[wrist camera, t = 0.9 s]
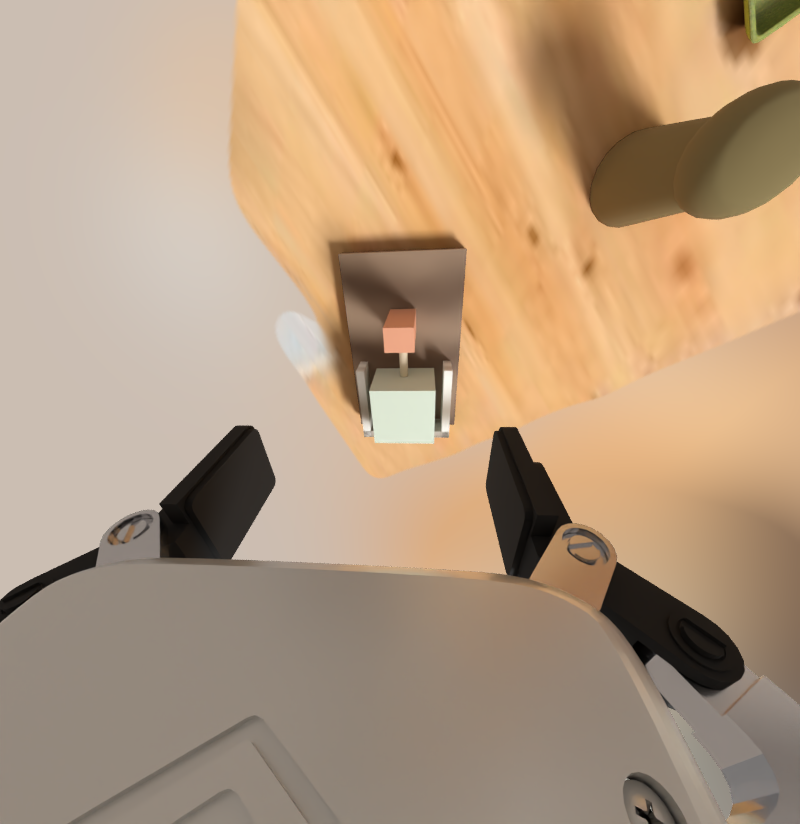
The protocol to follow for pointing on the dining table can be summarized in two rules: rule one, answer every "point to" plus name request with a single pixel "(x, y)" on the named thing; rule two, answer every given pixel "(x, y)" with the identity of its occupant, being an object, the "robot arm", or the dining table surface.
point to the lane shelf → (435, 318)
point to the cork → (704, 162)
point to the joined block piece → (402, 388)
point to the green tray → (767, 16)
